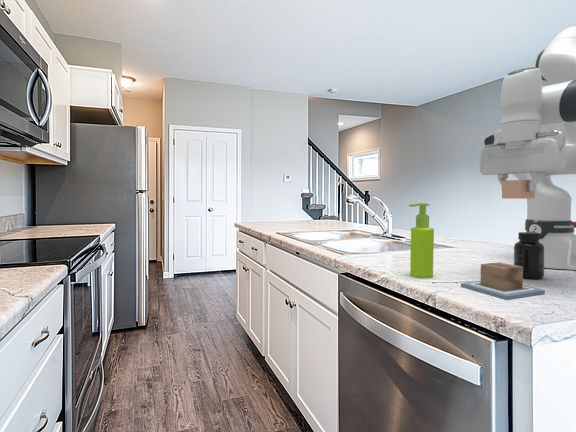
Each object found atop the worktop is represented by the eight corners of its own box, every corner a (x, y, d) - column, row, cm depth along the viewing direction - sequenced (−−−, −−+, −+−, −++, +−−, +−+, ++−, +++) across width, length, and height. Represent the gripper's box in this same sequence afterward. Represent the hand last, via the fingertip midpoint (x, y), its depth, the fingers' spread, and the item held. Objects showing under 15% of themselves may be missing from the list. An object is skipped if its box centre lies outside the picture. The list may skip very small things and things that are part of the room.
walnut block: (498, 282, 89) (499, 262, 88) (522, 288, 83) (523, 266, 83) (480, 284, 86) (480, 264, 86) (503, 291, 81) (504, 268, 80)
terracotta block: (515, 198, 94) (516, 180, 94) (534, 198, 89) (535, 180, 89) (501, 198, 92) (502, 180, 92) (520, 198, 87) (521, 179, 87)
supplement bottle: (531, 273, 102) (533, 231, 101) (550, 279, 95) (551, 233, 94) (507, 274, 101) (508, 231, 101) (524, 280, 94) (525, 234, 94)
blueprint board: (496, 282, 92) (496, 278, 92) (544, 293, 81) (544, 289, 81) (460, 286, 88) (460, 282, 88) (506, 299, 77) (506, 295, 77)
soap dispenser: (402, 274, 101) (403, 203, 100) (422, 272, 104) (423, 202, 103) (417, 279, 96) (418, 203, 95) (437, 277, 98) (439, 203, 97)
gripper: (574, 129, 81) (571, 191, 82) (493, 141, 100) (491, 192, 101) (555, 127, 79) (553, 191, 80) (476, 140, 98) (474, 192, 99)
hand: (518, 191), depth 91 cm, fingers closed on terracotta block, 5 cm apart
